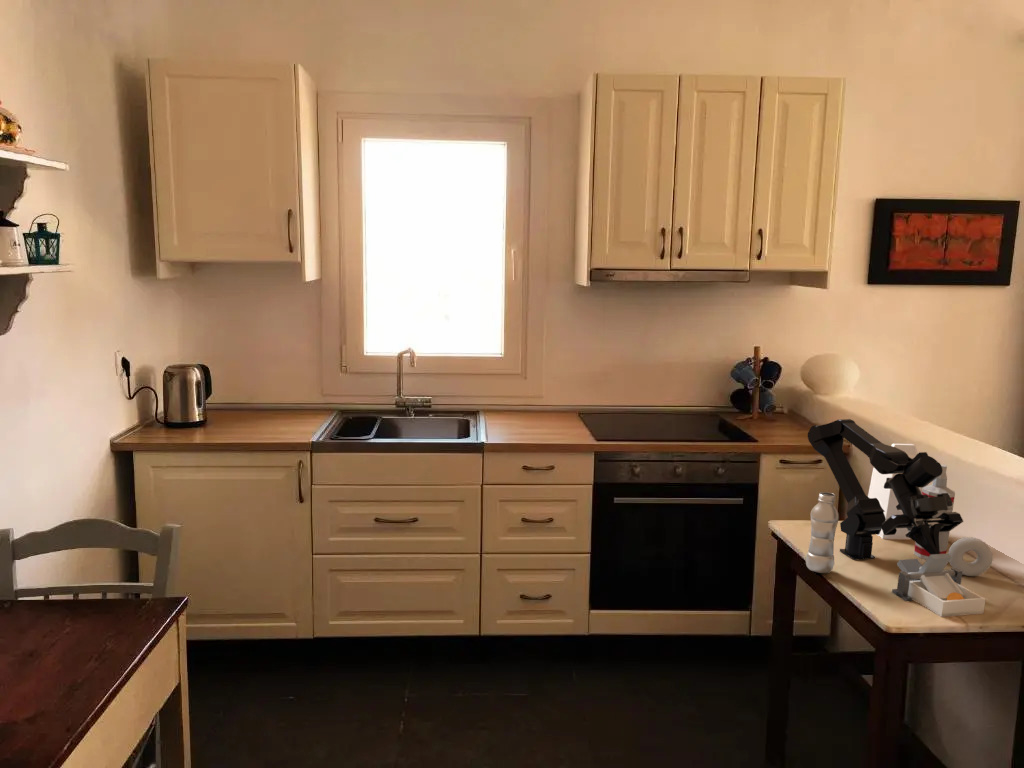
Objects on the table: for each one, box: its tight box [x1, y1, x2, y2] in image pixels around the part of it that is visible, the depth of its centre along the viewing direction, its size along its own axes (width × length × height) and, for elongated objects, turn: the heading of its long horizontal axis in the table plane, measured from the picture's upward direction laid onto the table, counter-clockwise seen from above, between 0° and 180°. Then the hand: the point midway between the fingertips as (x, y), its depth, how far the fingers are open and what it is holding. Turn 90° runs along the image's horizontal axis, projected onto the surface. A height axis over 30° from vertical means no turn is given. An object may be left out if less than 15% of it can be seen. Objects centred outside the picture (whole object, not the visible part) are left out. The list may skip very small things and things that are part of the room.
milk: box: [867, 443, 929, 540], centre depth 230 cm, size 12×12×26 cm
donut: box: [947, 536, 994, 577], centre depth 202 cm, size 10×4×10 cm, turn 74°
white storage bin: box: [908, 580, 986, 618], centre depth 185 cm, size 11×11×4 cm
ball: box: [947, 592, 964, 600], centre depth 182 cm, size 4×4×4 cm
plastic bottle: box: [805, 491, 840, 574], centre depth 200 cm, size 6×7×20 cm
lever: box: [896, 552, 964, 599], centre depth 189 cm, size 14×12×10 cm
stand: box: [891, 567, 963, 602], centre depth 190 cm, size 5×16×6 cm, turn 104°
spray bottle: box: [913, 464, 956, 561], centre depth 213 cm, size 8×8×25 cm
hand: (937, 556), depth 187 cm, fingers closed, pressing on lever
